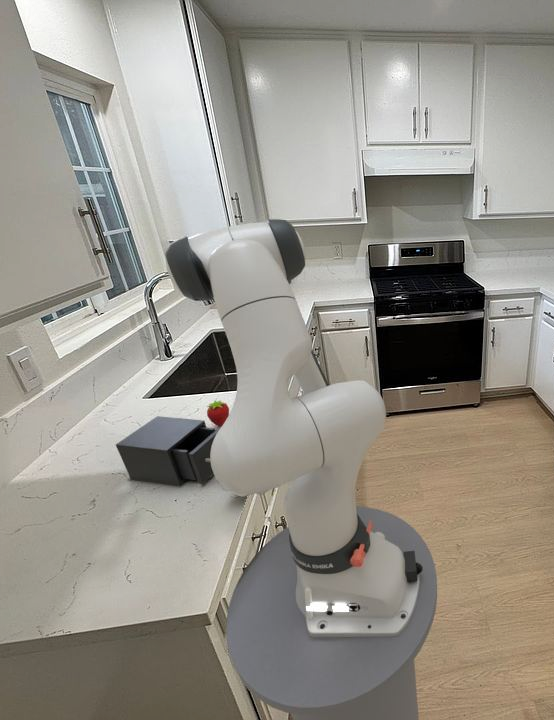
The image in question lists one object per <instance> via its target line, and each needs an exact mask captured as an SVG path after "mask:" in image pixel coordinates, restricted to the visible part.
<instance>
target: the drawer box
mask: <svg viewBox="0 0 554 720" xmlns="http://www.w3.org/2000/svg"><path fill="white" fill-rule="evenodd" d="M200 427H207V425H206V421H205V420H202V419H193V418H182V417H171V416H159V415H157V416H156V417H154V418H153V419H151V420H149V421H148V422H146V423H145V424H143V425H142V426H140V427H139V428H138V429H136V430H135V431H133V432H132V433H131V434H128V436H126V437H124V438H122V440H120V441H118V442H117V443H115V447H116V449H117V452H118V453H119V456H120V458H121V460H122V462H123V465H124V467H125V469H126V472H127V474H128V476H129V479H130V480H135V481H142V482H148V483H156V484H162V485H163V484H164V485H170V486H178V487H181V486H182V485H183V484H184V483H185V482H186V481H187V480H188V479H184V478H180V476H179V473H178V470H177V468H176V465H175V462H174V460H173V457H172V454H171V452H170V451H171V450H172V449H174V448H175V447H176V446H177V445H179V444H180V443H181V442H182V441H184V440H185V439H186V438H187V437H188V436H190V435H191V434H192V433H193V432H195V431H196V430H197V429H198V428H200Z"/></svg>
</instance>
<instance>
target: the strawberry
mask: <svg viewBox="0 0 554 720" xmlns="http://www.w3.org/2000/svg"><path fill="white" fill-rule="evenodd" d="M206 408H207V410H206V415H207V418H208V420H209V421H210V422H211V423H212V424H214V425H215V426H217V427H218V428H219V427H220V426H223V424H224V423H225V421H226V419H227V418H228V416H229V414H230V408H229V405H228V404H227V403H226V402H222V400H218V401H217V399H215V400H214V402H212V403H209V404H208V405H207V406H206Z"/></svg>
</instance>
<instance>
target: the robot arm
mask: <svg viewBox="0 0 554 720" xmlns="http://www.w3.org/2000/svg"><path fill="white" fill-rule="evenodd" d="M164 255H165V267H166V272H167V274H168V275H167V276H168V277H169V279H170V281H171V283H172V284H173V285H174V287H175V288H176V289H178V291H179V292H181V294H182V295H183V296H184V297H185V298H187V299H190V300H192V301H195V302H206V301H207V302H208V301H214V303H215V307H216V310H217V313H218V316H219V319H220V321H221V322H220V323H221V324H222V327H223V330H224V333H225V336H226V338H227V341H228V344H229V347H230V349H231V354H232V357H233V361H234V365H235V370H236V379H237V384H236V385H237V386H236V387H237V388H236V394H235V398H234V401H233V405H232V407H231V410H230V411H229V416H228V418H227V419H226V421H225V423H224V424H223V426H222V427H221V428H220V430H219V431H218V432H217V434H216V436H215V438H214V440H213V443H212V446H211V452H210V462H211V467H212V470H213V475H214V478H215V479H216V480H217V482H218V483H219V484H220V486H221V489H222V490H223V491H225V492H229V493H231V494H234V495H236V496H239V497H248V496H252V495H255V494H256V495H259V496H263V495H265V494H267V493H268V492H269V491H270V490H271V491H272V490H273V489H274V490H275V489H278V488H280V487H282V486H284V485H286V484H288V483H290V484H289V486H288V488H287V490H286V493H285V497H284V502H283V511H284V514H285V519H286V523H287V527H289V531H290V534H289V542H290V547H291V552H292V556H293V559H294V561H295V563H296V565H297V586H296V602H297V605H298V608H299V610H300V611H301V613H302V614H303V615H304V617H305V619H306V623H307V630H308V633H309V635H310V636H311V637H394V636H398V635H399V634H400V633H401V632H402V631H403V630H404V629H405V628H406V626H407V625H408V623H409V621H410V620H411V617H412V615H413V613H414V610H415V607H416V603H417V599H418V594H419V586H420V576H419V574H420V573H421V572H422V570H423V567H422V565H421V564H419V563H417V562H416V560H415V551H406V552H403V553H402V551H401V550H400V549H399V547H398V546H396V545H394V544H392V543H391V542H389V541H387V540H385V536H384V534H383V533H381V532H376V533H373V532H371V529H372V524H371V523H372V520H370V522H369V525H368V527H367V528H366V526H365V524H364V523H363V521H362V520H361V518H360V517H359V515H358V514H357V512H356V507H357V504H356V503H357V502H356V484H357V478H358V475H359V472H360V470H361V467H362V464H363V462H364V460H365V458H366V456H367V454H368V451H369V450H370V449H371V447H372V445H373V444H374V442H375V441H376V439H378V437H379V436H380V435H381V434H382V432H383V431H384V429H385V425H386V421H387V410H386V403H385V401H384V399H383V397H382V395H381V394H380V392H379V391H378V390H377V389H376V388H375V387H374V386H373V385H372V384H370V383H369V382H367V381H365V380H361V379H357V380H349V381H342V382H336V383H332V384H330V385H329V382H328V380H327V377H326V376H325V374H324V371H323V370H322V367H321V365H320V363H319V361H318V359H317V357H316V354H315V353H314V351H313V340H312V338H311V335H310V333H309V330H308V327H307V325H306V322H305V319H304V317H303V314H302V312H301V309H300V307H299V304H298V301H297V300H296V296H295V294H294V292H293V289H292V288H291V284H292V280H294V279H295V278H297V277H298V276H299V275H301V274H302V272H303V271H304V269H305V267H306V248H305V244H304V242H303V239H302V237H301V236H300V234H299V233H298V231H297V230H296V229H295V227H294V225H293V224H292V223H290V222H289V221H287V220H286V219H281V218H280V219H278V218H273V219H271V218H270V219H269V218H268V219H266V221H259V222H250V223H243V224H236V225H235V224H234V225H231V226H227V225H225V226H222V227H217V228H214V229H211V230H207V231H204V232H201V233H198V234H195V235H193V236H190V237H188V236H183V237H181V238H178V239H177V240H174V241H172V242H171V243H169V244H168V246H167V248H166V250H165V253H164ZM293 376H294V377H295V379H296V381H297V382H298V385H299V386H300V389H301V390H302V393H303V394H301V395H299V396H296V397H295V396H294V397H291V394H290V391H289V381H290V379H291V378H292V377H293ZM403 554H404V556H403ZM403 616H404V617H406V618H405V619H402V618H401V617H403ZM323 626H324V627H325V628H324V629H321V627H323ZM369 628H370V629H369Z"/></svg>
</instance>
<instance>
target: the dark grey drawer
mask: <svg viewBox="0 0 554 720" xmlns="http://www.w3.org/2000/svg"><path fill="white" fill-rule="evenodd" d="M221 427H222V426H220V427H219V426H218V428H217V429H215V427H208V426H206V427H200V428H198V429H197V430H196V431H195V432H193V433H192V434H191V435H190V436H188V437H187V438H186V439H185V440H184V441H182V442H181V443H180V444H179V445H177V446H176V447H175V448H174V449H172V450H171V451H170V452H171V454H172V457H173V460H174V462H175V465H176V468H177V470H178V473H179V476H180V478H184V479H187V480H191V481H192V480H193V481H196V480H197V483H198V484H199V485H204V484H205V483H206V482H207V481H208V480H209V479H210V477H212V476H213V475H214V473H213V470H212V467H211V462H210V452H211V446H212V443H213V440H214V438H215V436H216V434H217V432H218V431H219V430H220V428H221Z"/></svg>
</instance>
